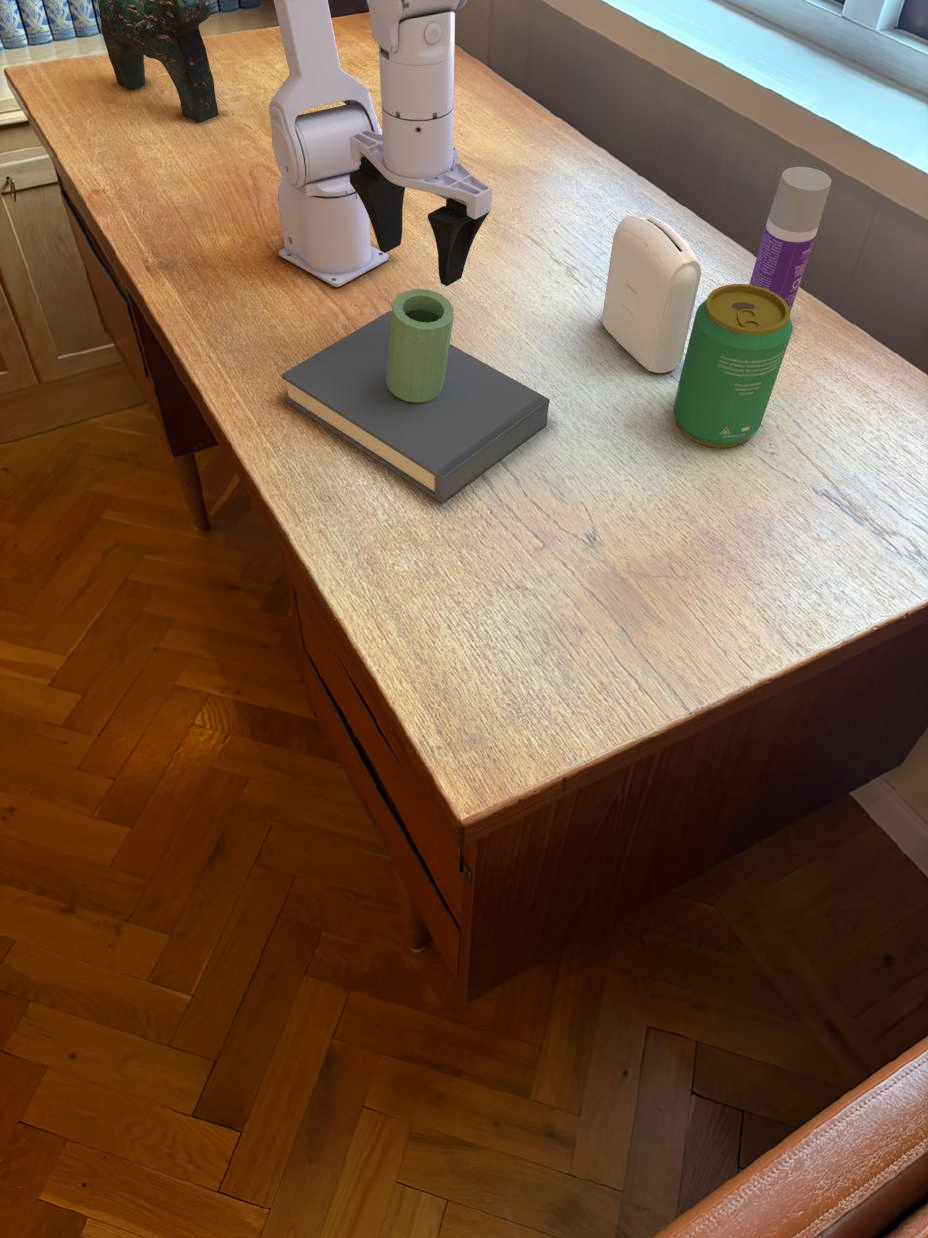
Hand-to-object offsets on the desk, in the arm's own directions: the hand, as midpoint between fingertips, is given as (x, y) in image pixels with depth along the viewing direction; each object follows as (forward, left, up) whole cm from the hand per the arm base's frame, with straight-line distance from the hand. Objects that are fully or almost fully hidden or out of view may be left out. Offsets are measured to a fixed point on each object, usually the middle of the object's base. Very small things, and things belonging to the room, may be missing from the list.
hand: (420, 263), depth 84 cm
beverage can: (+27, +11, -10) cm, 31 cm away
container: (+22, +28, -10) cm, 37 cm away
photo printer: (+15, +16, -10) cm, 24 cm away
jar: (+6, -7, -6) cm, 11 cm away
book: (+6, -7, -10) cm, 13 cm away
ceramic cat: (-64, +17, -10) cm, 67 cm away
